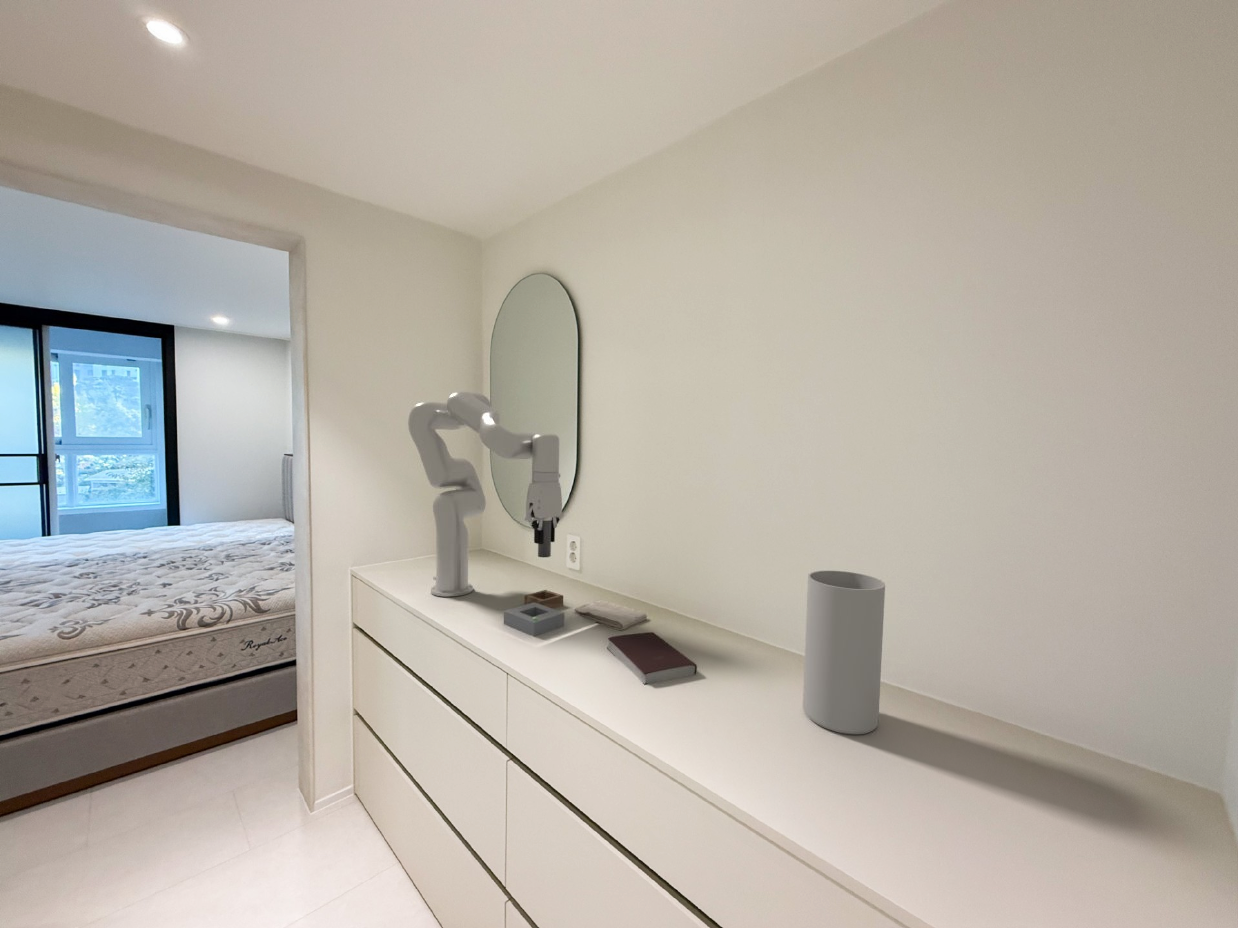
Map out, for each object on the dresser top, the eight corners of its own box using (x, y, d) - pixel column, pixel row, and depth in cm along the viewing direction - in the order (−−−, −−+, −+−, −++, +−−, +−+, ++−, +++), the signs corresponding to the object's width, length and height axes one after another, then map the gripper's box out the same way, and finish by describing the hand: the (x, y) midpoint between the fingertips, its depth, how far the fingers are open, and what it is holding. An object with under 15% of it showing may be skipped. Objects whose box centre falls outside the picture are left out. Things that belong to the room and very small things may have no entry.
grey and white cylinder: (534, 555, 147) (535, 513, 147) (544, 553, 150) (545, 512, 149) (543, 558, 145) (544, 515, 144) (554, 555, 148) (554, 514, 147)
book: (653, 643, 126) (654, 629, 126) (697, 676, 109) (697, 661, 109) (606, 650, 121) (606, 637, 121) (643, 687, 104) (644, 671, 104)
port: (503, 626, 134) (503, 609, 134) (533, 616, 141) (534, 600, 141) (533, 638, 126) (533, 620, 126) (563, 627, 133) (564, 611, 133)
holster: (524, 607, 149) (524, 595, 149) (545, 601, 155) (545, 589, 155) (542, 613, 144) (542, 601, 144) (563, 607, 150) (563, 595, 149)
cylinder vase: (849, 697, 101) (855, 569, 99) (894, 733, 88) (901, 588, 87) (789, 701, 98) (795, 571, 97) (827, 739, 86) (833, 590, 85)
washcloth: (598, 606, 152) (598, 596, 152) (648, 620, 142) (649, 609, 142) (570, 617, 143) (570, 606, 143) (622, 633, 132) (623, 621, 132)
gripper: (557, 475, 155) (556, 536, 156) (513, 478, 142) (512, 544, 143) (575, 477, 150) (574, 540, 151) (531, 480, 138) (530, 548, 138)
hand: (544, 541), depth 147 cm, fingers closed on grey and white cylinder, 3 cm apart
